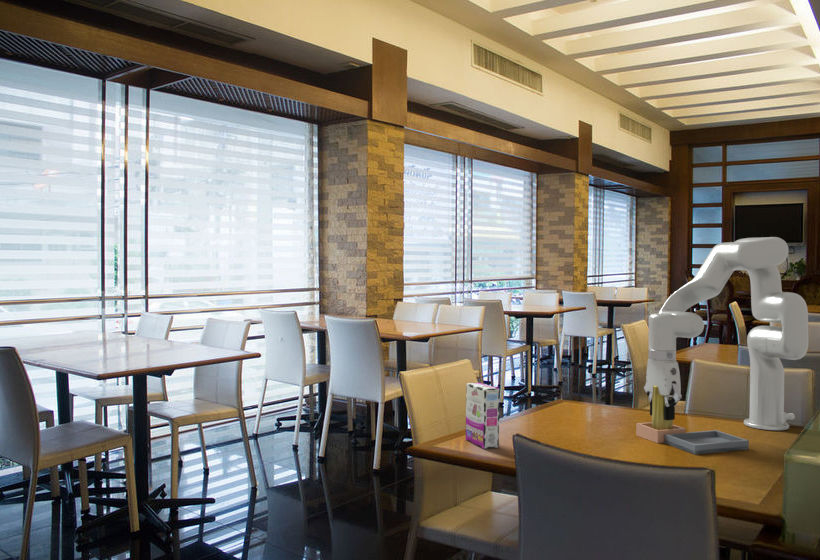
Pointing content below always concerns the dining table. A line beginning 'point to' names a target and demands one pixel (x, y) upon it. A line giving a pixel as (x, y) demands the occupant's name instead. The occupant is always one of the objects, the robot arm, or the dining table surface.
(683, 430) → the holder
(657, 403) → the vase
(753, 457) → the dining table surface
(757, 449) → the dining table surface
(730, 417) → the dining table surface
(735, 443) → the tray
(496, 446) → the candy bar box
